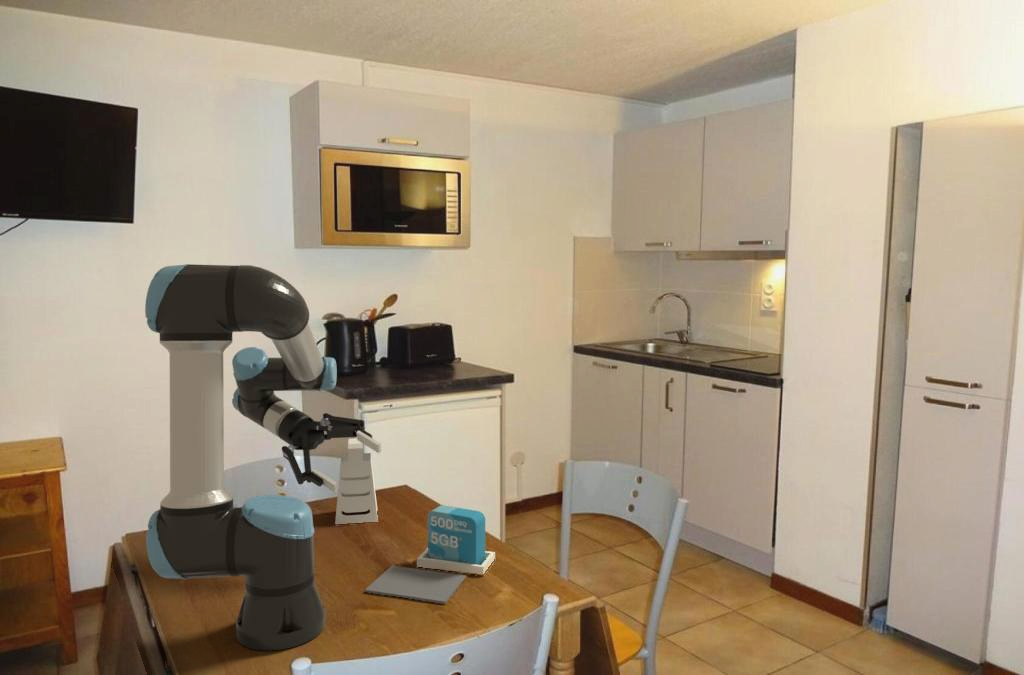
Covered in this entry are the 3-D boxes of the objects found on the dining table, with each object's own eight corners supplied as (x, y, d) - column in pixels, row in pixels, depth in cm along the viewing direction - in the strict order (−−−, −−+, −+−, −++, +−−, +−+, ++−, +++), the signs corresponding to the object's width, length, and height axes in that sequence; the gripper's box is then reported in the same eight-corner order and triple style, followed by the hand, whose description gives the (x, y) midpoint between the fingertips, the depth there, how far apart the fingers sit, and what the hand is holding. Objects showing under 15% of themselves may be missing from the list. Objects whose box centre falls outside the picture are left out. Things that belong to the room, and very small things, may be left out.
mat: (445, 604, 136) (445, 601, 136) (365, 592, 141) (365, 589, 141) (466, 578, 147) (466, 575, 147) (391, 568, 152) (391, 565, 152)
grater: (335, 525, 177) (333, 447, 175) (336, 511, 187) (335, 436, 185) (377, 522, 179) (376, 445, 177) (377, 508, 189) (376, 435, 187)
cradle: (483, 576, 148) (483, 567, 148) (416, 567, 153) (416, 558, 152) (495, 560, 156) (495, 552, 156) (431, 552, 160) (431, 544, 160)
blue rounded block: (427, 563, 155) (427, 509, 154) (438, 555, 159) (437, 503, 158) (475, 573, 150) (475, 518, 149) (485, 565, 154) (485, 511, 153)
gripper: (329, 404, 173) (397, 443, 165) (248, 469, 156) (318, 517, 148) (326, 381, 168) (395, 422, 160) (242, 446, 152) (314, 494, 143)
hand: (358, 467), depth 154 cm, fingers open, 13 cm apart
